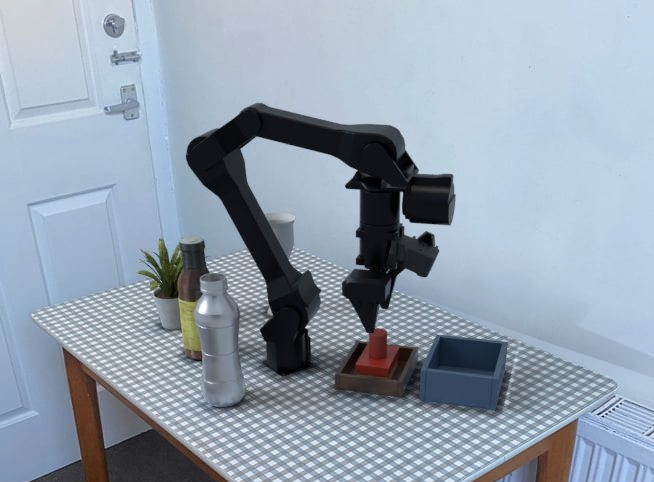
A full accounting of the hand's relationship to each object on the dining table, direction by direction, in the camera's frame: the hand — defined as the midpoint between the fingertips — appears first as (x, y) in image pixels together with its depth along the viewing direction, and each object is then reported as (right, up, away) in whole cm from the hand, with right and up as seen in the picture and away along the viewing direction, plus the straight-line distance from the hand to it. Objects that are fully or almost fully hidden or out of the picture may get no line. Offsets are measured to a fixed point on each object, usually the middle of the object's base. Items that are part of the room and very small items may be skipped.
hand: (377, 320), depth 120 cm
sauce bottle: (-28, -4, +15) cm, 32 cm away
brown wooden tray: (0, -9, +5) cm, 10 cm away
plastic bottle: (-23, -13, 0) cm, 26 cm away
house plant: (-35, +1, +25) cm, 43 cm away
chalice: (-16, +4, +29) cm, 33 cm away
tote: (+13, -10, +1) cm, 17 cm away
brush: (0, -8, +5) cm, 9 cm away
